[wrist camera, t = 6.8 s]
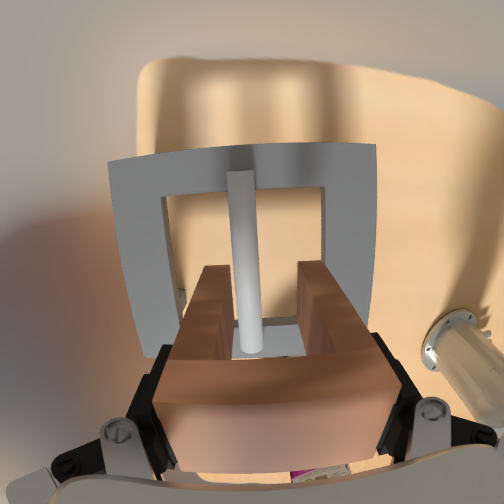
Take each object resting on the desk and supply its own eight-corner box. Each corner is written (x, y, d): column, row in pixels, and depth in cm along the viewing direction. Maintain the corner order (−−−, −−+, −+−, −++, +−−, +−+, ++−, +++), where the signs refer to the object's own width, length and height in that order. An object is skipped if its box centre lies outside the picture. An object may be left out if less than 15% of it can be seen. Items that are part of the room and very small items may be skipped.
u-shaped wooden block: (322, 260, 17) (401, 384, 7) (319, 318, 19) (372, 458, 8) (204, 265, 18) (151, 401, 7) (211, 323, 19) (181, 470, 8)
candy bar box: (295, 462, 51) (302, 524, 35) (287, 452, 50) (293, 518, 34) (344, 445, 49) (361, 507, 34) (339, 435, 48) (356, 501, 32)
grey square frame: (335, 149, 33) (386, 143, 19) (334, 294, 39) (370, 359, 25) (154, 160, 34) (96, 162, 20) (172, 303, 39) (138, 369, 25)
